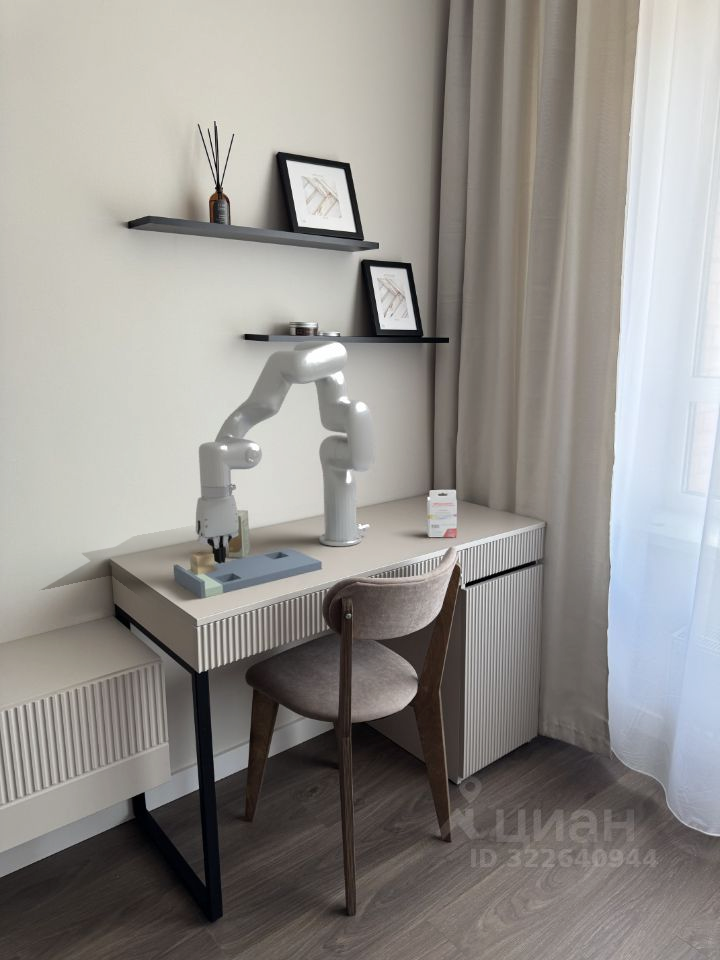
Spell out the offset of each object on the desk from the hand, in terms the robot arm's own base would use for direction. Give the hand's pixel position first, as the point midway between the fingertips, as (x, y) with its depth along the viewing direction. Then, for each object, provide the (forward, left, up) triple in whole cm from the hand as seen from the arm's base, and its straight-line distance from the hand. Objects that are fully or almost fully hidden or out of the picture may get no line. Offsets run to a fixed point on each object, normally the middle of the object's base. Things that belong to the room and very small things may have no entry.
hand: (219, 561), depth 182 cm
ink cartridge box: (-69, +9, -4) cm, 70 cm away
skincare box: (-12, -13, -4) cm, 18 cm away
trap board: (-6, +4, -4) cm, 8 cm away
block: (+4, -1, -2) cm, 5 cm away
